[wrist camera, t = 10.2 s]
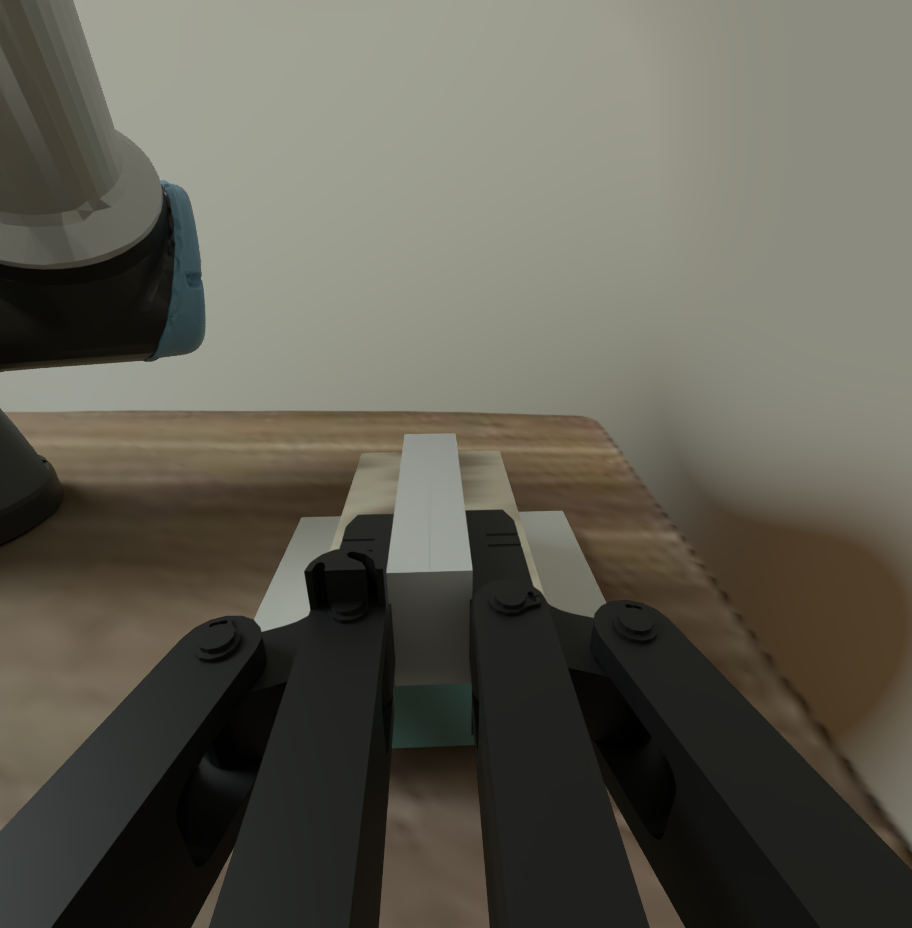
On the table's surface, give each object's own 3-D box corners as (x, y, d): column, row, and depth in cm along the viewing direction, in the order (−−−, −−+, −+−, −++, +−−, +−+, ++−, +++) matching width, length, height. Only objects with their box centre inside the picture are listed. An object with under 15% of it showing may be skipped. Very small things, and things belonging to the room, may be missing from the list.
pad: (228, 713, 21) (221, 688, 21) (304, 535, 34) (301, 517, 33) (634, 696, 22) (639, 672, 21) (560, 529, 35) (562, 510, 34)
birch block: (304, 627, 16) (361, 453, 28) (325, 751, 18) (369, 540, 31) (551, 619, 16) (499, 450, 29) (539, 742, 19) (496, 536, 31)
